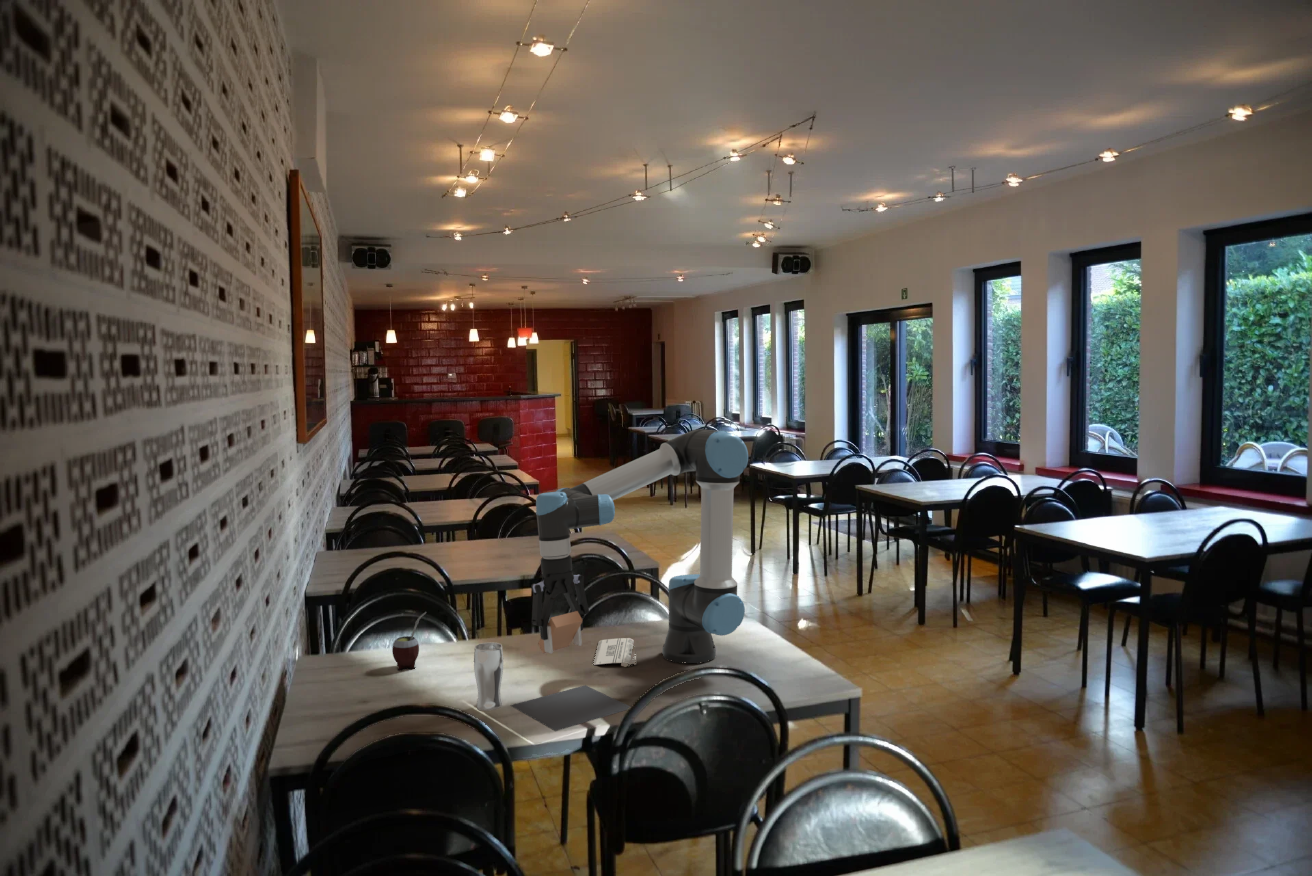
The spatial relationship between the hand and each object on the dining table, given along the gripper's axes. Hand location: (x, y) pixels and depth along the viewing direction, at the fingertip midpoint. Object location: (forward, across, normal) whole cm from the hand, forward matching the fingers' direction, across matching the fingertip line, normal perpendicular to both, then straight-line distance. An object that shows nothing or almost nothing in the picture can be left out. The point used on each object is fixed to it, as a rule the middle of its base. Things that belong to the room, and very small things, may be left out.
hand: (563, 648), depth 223 cm
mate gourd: (+9, +22, -48) cm, 53 cm away
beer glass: (+12, +17, -8) cm, 22 cm away
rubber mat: (+13, +2, +5) cm, 14 cm away
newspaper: (+14, -30, -23) cm, 40 cm away
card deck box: (0, 0, -5) cm, 5 cm away
